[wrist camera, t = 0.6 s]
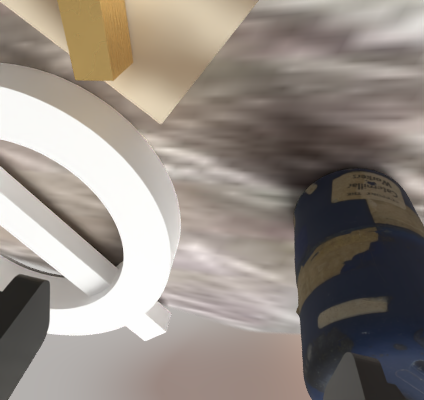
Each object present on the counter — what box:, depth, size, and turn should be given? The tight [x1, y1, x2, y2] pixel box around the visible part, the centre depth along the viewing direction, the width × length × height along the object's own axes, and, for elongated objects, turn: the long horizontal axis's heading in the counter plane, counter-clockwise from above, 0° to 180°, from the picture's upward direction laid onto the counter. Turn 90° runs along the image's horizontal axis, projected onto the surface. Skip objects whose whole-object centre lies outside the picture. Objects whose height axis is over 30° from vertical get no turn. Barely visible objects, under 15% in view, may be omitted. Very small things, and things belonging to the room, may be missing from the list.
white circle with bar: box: [0, 63, 181, 341], centre depth 37 cm, size 28×28×5 cm
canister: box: [293, 168, 424, 400], centre depth 26 cm, size 10×10×18 cm
